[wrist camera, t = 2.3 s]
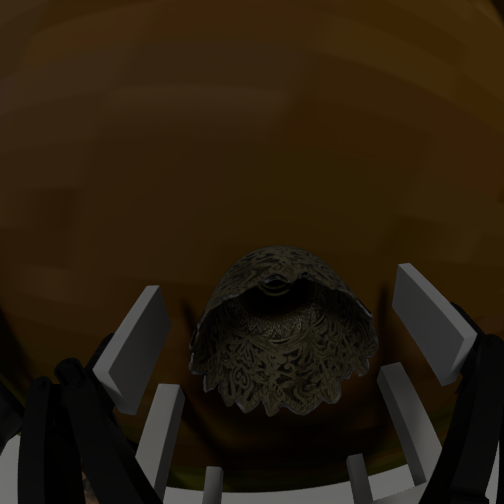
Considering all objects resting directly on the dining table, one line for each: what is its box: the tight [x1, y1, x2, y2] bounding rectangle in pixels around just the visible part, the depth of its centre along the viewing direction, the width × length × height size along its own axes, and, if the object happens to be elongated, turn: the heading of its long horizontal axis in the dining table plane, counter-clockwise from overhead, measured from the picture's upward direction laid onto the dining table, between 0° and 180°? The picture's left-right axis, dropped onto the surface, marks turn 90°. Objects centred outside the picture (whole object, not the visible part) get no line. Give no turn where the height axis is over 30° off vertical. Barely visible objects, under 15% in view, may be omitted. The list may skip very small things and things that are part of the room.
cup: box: [189, 246, 379, 417], centre depth 13 cm, size 8×7×8 cm
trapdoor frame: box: [135, 362, 442, 504], centre depth 18 cm, size 22×22×16 cm
